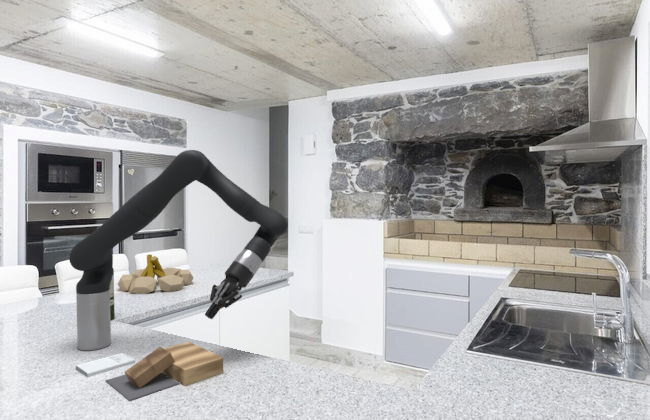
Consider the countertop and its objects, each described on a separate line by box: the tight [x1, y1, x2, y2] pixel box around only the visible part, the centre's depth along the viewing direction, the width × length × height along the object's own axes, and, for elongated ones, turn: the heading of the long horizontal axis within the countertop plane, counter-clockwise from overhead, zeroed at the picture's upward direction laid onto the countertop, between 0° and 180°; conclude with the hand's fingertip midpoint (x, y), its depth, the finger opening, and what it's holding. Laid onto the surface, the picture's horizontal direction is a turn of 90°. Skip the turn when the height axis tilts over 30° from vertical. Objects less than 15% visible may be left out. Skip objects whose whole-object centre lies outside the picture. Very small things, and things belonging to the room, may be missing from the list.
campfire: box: [117, 253, 194, 295], centre depth 220 cm, size 35×34×17 cm
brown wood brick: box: [124, 346, 175, 389], centre depth 108 cm, size 6×3×10 cm
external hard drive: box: [75, 352, 136, 378], centre depth 118 cm, size 2×8×12 cm
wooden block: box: [162, 341, 224, 387], centre depth 115 cm, size 18×11×4 cm, turn 46°
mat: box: [105, 372, 180, 402], centre depth 107 cm, size 15×12×1 cm
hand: (208, 317), depth 119 cm, fingers closed
